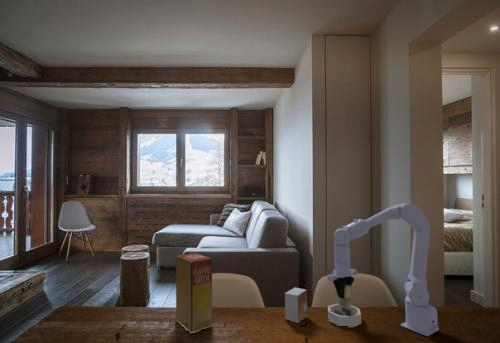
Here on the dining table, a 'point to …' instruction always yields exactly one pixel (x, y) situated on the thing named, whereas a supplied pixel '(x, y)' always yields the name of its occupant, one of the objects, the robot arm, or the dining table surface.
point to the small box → (296, 304)
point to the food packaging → (194, 291)
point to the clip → (344, 311)
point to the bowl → (344, 320)
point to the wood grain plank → (347, 298)
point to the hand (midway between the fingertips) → (343, 296)
